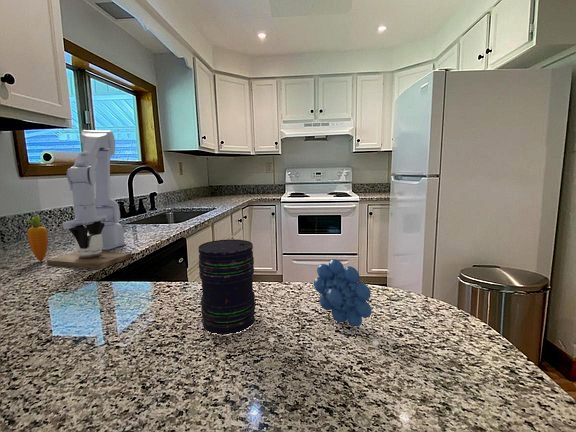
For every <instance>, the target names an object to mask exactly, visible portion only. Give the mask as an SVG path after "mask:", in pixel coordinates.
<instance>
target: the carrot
mask: <svg viewBox="0 0 576 432" xmlns="http://www.w3.org/2000/svg"><path fill="white" fill-rule="evenodd" d="M41 221H42V218H41V216H39V215H34V216H33V217H32V218H31V220H30V219H26V220H25V222H27V223H28V224H31V227H30V228H28V229H27V231H26V234H27V239H28V244H29V247H30V249H31V251H32V253H33V255H34V257H35V258H36V259H37V260H38V261H39V262H43V260H45V257H46V255H47V252H48V246H49V239H48V238H49V235H48V229H47V228H46V227H45V226H40V223H41Z"/></svg>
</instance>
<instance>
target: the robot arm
mask: <svg viewBox="0 0 576 432" xmlns="http://www.w3.org/2000/svg"><path fill="white" fill-rule="evenodd" d="M80 141H81V144H82V146H83V151H81V152H79V153H78V154H77V156H76V159H75V161H74V164H73V166H71V167H70V168H67V170H66V180H67V182H68V185H69V190H70V191H71V193H72V194H71V195H72V202H73V203H72V204H73V209H74V217H75V218H73V219H71V220H68V221H64V222H62V229H63V230H65V229H66V230H68V231H69V232H70V233H71V234H72V235H73V236H74V239H75V238H76V240H77V242H78V244H79V247H80V249H86V248H87V234H88V233H97V234H102V241H103V249H102V251H109V250H111V249H115V248H119V247H121V246H125V245H127V242H125V232H124V230H125V229H124V227H123V225H122V224H121V223H120V220H121V211H120V205H119V204H118V202H117V201H115V200H114V199H112V198H111V166H110V164H111V157H112V156H114V155H115V152H116V140H115V135H114V132H113V131H112V130H91V129H90V130H89V129H87V130H86V129H82V131H81V132H80ZM94 185H95V186H94ZM85 226H86V227H85Z"/></svg>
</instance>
